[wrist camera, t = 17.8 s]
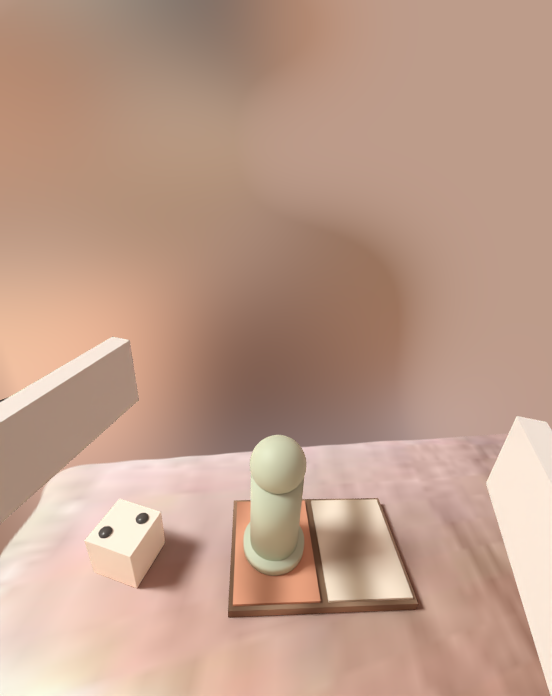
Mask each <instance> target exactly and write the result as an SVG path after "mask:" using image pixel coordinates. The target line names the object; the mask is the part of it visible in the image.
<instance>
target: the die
mask: <svg viewBox="0 0 552 696" xmlns="http://www.w3.org/2000/svg"><path fill="white" fill-rule="evenodd" d="M84 541H85V545H86V548H87V551H88V554H89V558H90V561H91V564H92V567H93V571H94V572H95V573H97V574H100V575H103V576H105V577H108V578H111V579H113V580H116V581H118V582H121V583H124V584H126V585H129V586H131V587H134V588H138V586H139V584H140V583H141V581H142V580H143V578H144V576H145V575H146V573H147V571H148V570H149V568H150V567H151V565H152V563H153V562H154V560H155V558H156V557H157V555H158V553H159V552H160V550H161V549H162V547H163V545H164V544H165V537H164V530H163V523H162V516H161V512H160V511H157V510H154V509H150V508H147V507H144V506H141V505H138V504H135V503H132V502H128V501H125V500H122V499H119V500H118V501H117V502H116V503H115V505H114V506H113V507H112V508H111V509H110V511H109V512H108V513H107V514H106V515H105V516H104V518H103V519H102V520H101V521H100V522H99V524H98V525H97V526H96V527H95V528H94V530H93V531H92V532H91V533H90V534H89V536H88V537H87V538H86V539H85V540H84Z"/></svg>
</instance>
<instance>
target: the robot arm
mask: <svg viewBox="0 0 552 696" xmlns="http://www.w3.org/2000/svg"><path fill="white" fill-rule="evenodd" d="M138 400H139V398H138V391H137V385H136V378H135V372H134V366H133V359H132V352H131V346H130V340H126V339H121V338H116V337H111V338H109V339H108V340H106V341H104V342H103V343H101V344H99V345H98V346H96V347H94V348H92V349H91V350H89V351H87V352H86V353H84V354H82V355H80V356H79V357H77V358H75V359H74V360H72V361H70V362H68V363H67V364H65V365H63V366H62V367H60V368H58V369H56V370H55V371H53V372H51V373H50V374H48V375H46V376H45V377H43V378H41V379H40V380H38V381H36V382H34V383H33V384H31V385H29V386H28V387H26V388H24V389H22V390H21V391H19V392H17V393H15V394H14V395H12V396H10V397H8V398H5V399H2V400H0V524H1V523H2V522H3V521H4V520H5V519H7V518H8V517H9V516H10V515H11V514H12V513H13V512H14V511H15V510H17V509H18V508H19V507H20V506H21V505H22V504H23V503H24V502H26V501H27V500H28V499H29V498H30V497H31V496H32V495H33V494H34V493H36V492H37V491H38V490H39V489H40V488H41V487H42V486H43V485H45V484H46V483H47V482H48V481H49V480H50V479H51V478H52V477H53V476H55V475H56V474H57V473H58V472H59V471H60V470H61V469H62V468H63V467H65V466H66V465H67V464H68V463H69V462H70V461H71V460H72V459H73V458H75V457H76V456H77V455H78V454H79V453H80V452H81V451H82V450H84V449H85V448H86V447H87V446H88V445H89V444H90V443H91V442H93V440H95V439H96V438H97V437H98V436H99V435H100V434H101V433H103V432H104V431H105V430H106V429H107V428H108V427H109V426H110V425H111V424H113V423H114V422H115V421H116V420H117V419H118V418H119V417H120V416H121V415H123V414H124V413H125V412H126V411H127V410H128V409H129V408H130V407H132V406H133V405H134V404H135V403H136V402H137V401H138ZM486 485H487V488H488V491H489V494H490V498H491V501H492V504H493V508H494V511H495V514H496V518H497V521H498V524H499V527H500V531H501V534H502V537H503V541H504V544H505V547H506V550H507V554H508V557H509V560H510V564H511V567H512V570H513V574H514V577H515V580H516V583H517V587H518V590H519V593H520V597H521V600H522V603H523V606H524V610H525V613H526V616H527V620H528V623H529V626H530V630H531V633H532V636H533V639H534V643H535V646H536V649H537V653H538V656H539V659H540V662H541V666H542V669H543V672H544V676H545V679H546V682H547V686H548V689H549V692H550V695H551V696H552V430H551V429H550V427H549V425H548V424H547V422H544V421H539V420H534V419H528V418H524V417H519V416H517V417H516V419H515V421H514V423H513V425H512V428H511V430H510V432H509V434H508V436H507V439H506V441H505V443H504V445H503V447H502V449H501V452H500V454H499V456H498V458H497V460H496V463H495V465H494V467H493V469H492V471H491V474H490V476H489V478H488V480H487V482H486Z"/></svg>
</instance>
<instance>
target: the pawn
mask: <svg viewBox="0 0 552 696" xmlns="http://www.w3.org/2000/svg"><path fill="white" fill-rule="evenodd" d="M250 471H251V511H250V523H249V524H248V525H247V527H246V529H245V532H244V554H245V557H246V559H247V561H248V562H249V564H250V565H251V566H252V567H253V568H254V569H255V570H257V571H258V572H260V573H262V574H265V575H270V576H278V575H283V574H286V573H288V572H290V571H291V570H293V569H294V568H295V567H296V566H297V565H298V563H299V562H300V560H301V558H302V555H303V550H304V534H303V531H302V529H301V527H300V525H299V523H300V513H301V503H302V493H303V484H304V475H305V472H306V457H305V454H304V452H303V450H302V448H301V447H300V445H299V444H298V443H297V442H296V441H294V440H293V439H291V438H289V437H287V436H283V435H273V436H269V437H267V438H265V439H263V440H262V441H260V443H258V445H257V446H256V447H255V448H254V450H253V452H252V455H251V459H250Z"/></svg>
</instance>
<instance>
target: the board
mask: <svg viewBox="0 0 552 696" xmlns="http://www.w3.org/2000/svg"><path fill="white" fill-rule="evenodd" d="M250 511H251V500H240V501H234V509H233V529H232V548H231V567H230V586H229V606H228V617H245V616H269V615H293V614H317V613H341V612H364V611H388V610H412V609H416V608H417V605H418V602H417V599H416V597H415V594H414V591H413V589H412V586H411V583H410V581H409V578H408V576H407V573H406V570H405V568H404V565H403V562H402V560H401V557H400V555H399V552H398V549H397V547H396V544H395V541H394V539H393V536H392V533H391V531H390V528H389V526H388V523H387V520H386V518H385V515H384V512H383V510H382V507H381V505H380V502H379V499H378V498H365V499H303V500H302V503H301V513H300V523H299V525H300V527H301V529H302V531H303V534H304V550H303V555H302V558H301V560H300V562H299V563H298V565H297V566H296V567H295V568H294V569H293V570H291V571H290V572H288V573H286V574H283V575H278V576H270V575H265V574H262V573H260V572H258V571H257V570H255V569H254V568H253V567H252V566H251V565H250V564H249V562H248V561H247V559H246V557H245V554H244V532H245V529H246V527H247V525H248V524H249V523H250Z"/></svg>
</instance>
